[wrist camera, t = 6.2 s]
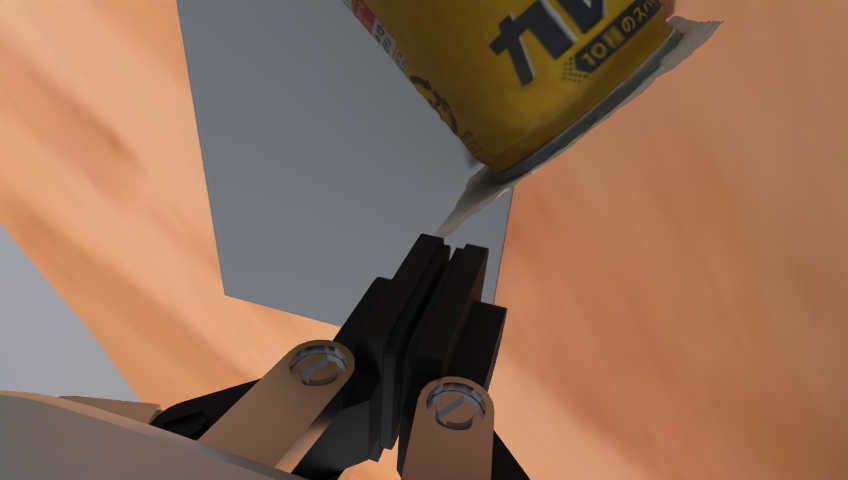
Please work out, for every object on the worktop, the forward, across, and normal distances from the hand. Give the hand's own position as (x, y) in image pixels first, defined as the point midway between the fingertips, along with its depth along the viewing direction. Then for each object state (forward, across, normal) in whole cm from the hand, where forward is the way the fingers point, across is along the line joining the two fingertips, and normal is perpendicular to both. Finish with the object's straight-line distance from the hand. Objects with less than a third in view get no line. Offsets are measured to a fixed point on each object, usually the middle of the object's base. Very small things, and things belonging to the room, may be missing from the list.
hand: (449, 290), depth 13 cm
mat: (+9, +7, 0) cm, 11 cm away
